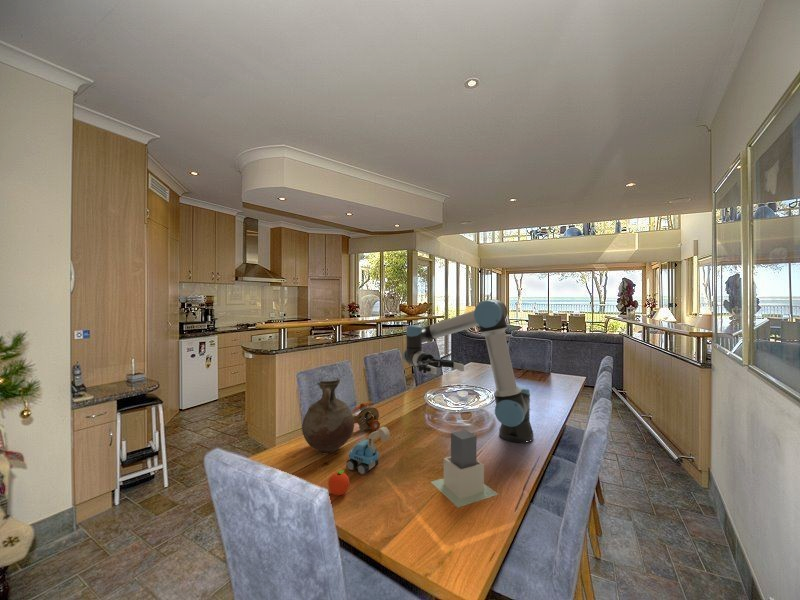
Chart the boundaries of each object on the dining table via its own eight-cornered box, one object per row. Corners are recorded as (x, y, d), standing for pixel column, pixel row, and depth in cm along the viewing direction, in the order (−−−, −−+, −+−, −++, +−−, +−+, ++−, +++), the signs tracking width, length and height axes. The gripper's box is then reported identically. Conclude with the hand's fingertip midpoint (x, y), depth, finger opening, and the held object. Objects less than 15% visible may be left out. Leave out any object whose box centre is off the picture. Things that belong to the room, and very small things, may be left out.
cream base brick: (466, 477, 122) (466, 452, 122) (483, 491, 113) (484, 464, 113) (443, 484, 118) (443, 458, 117) (460, 499, 109) (460, 470, 109)
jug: (348, 435, 160) (348, 371, 160) (359, 456, 140) (359, 382, 140) (300, 442, 153) (300, 375, 152) (304, 465, 132) (304, 387, 132)
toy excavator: (380, 482, 121) (380, 433, 120) (344, 469, 130) (344, 424, 129) (393, 471, 128) (393, 425, 128) (358, 460, 137) (358, 417, 137)
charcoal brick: (465, 458, 119) (465, 429, 119) (476, 466, 114) (476, 436, 114) (450, 462, 117) (451, 432, 117) (461, 470, 111) (461, 439, 111)
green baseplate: (467, 474, 126) (467, 471, 126) (498, 497, 112) (498, 494, 112) (430, 484, 119) (430, 481, 119) (457, 510, 105) (457, 507, 105)
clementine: (337, 484, 119) (337, 464, 119) (355, 488, 116) (354, 468, 116) (323, 497, 112) (323, 475, 112) (342, 502, 109) (342, 479, 109)
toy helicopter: (382, 429, 168) (382, 401, 168) (341, 438, 157) (341, 408, 157) (374, 424, 175) (374, 397, 175) (335, 432, 164) (335, 403, 164)
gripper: (446, 366, 166) (474, 375, 147) (399, 371, 155) (423, 382, 136) (446, 350, 166) (474, 358, 147) (399, 354, 155) (423, 363, 136)
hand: (449, 369), depth 141 cm, fingers open, 13 cm apart
